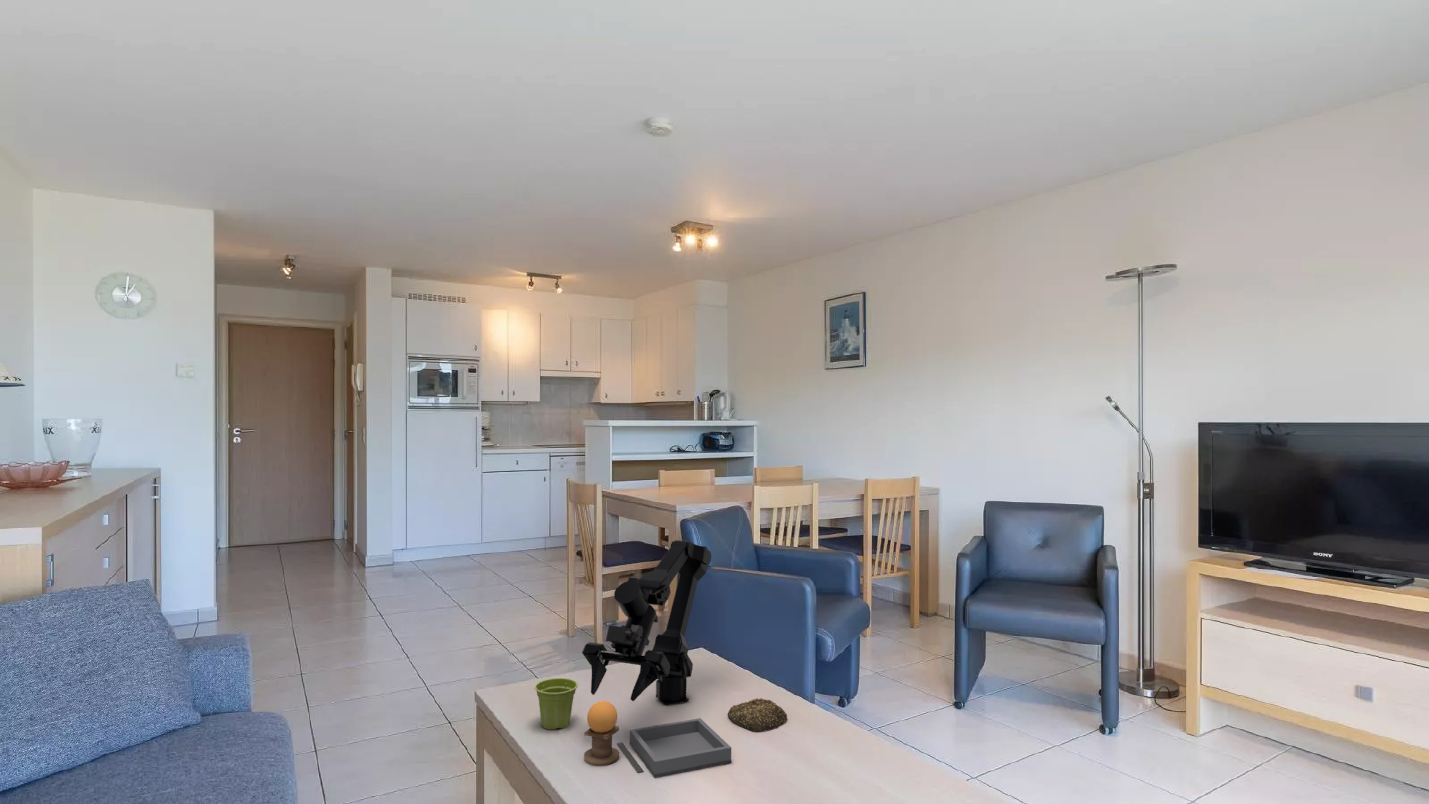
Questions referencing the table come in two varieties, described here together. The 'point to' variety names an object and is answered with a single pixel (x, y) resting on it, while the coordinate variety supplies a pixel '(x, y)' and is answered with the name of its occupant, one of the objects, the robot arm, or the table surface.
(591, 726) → the ball
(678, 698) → the robot arm
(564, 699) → the plant pot
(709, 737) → the grey square tray
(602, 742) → the tee
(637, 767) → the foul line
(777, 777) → the table surface
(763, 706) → the brown speckled mound
